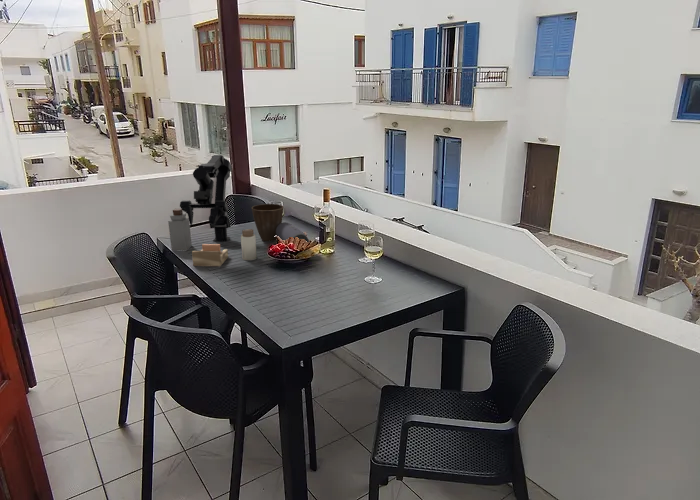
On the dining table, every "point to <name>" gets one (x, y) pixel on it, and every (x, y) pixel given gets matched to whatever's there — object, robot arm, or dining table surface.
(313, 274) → the dining table surface
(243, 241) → the jar
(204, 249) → the plate
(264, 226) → the plant pot
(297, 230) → the bluetooth speaker
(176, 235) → the perfume bottle
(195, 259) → the wooden frame
